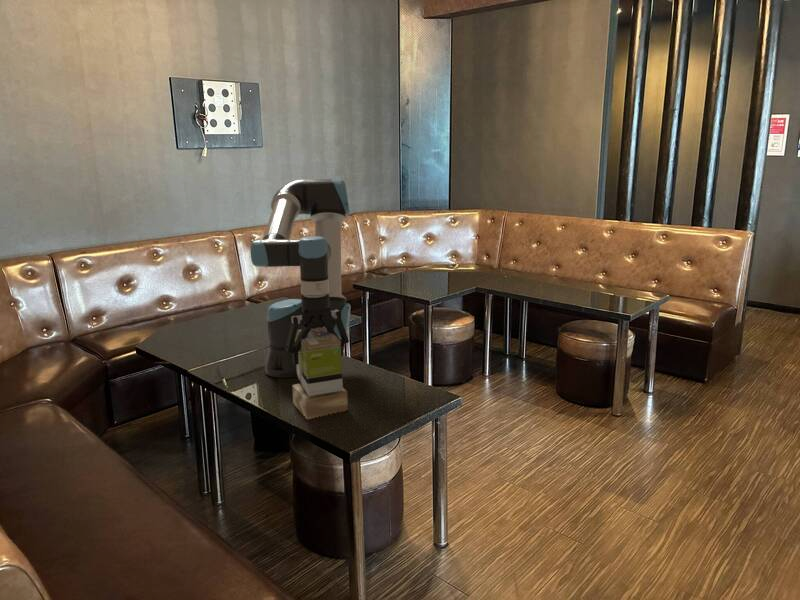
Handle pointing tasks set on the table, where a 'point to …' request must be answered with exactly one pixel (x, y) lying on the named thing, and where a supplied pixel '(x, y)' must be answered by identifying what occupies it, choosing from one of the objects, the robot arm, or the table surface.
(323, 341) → the tea box
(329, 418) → the table surface
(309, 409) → the oak block
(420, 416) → the table surface
